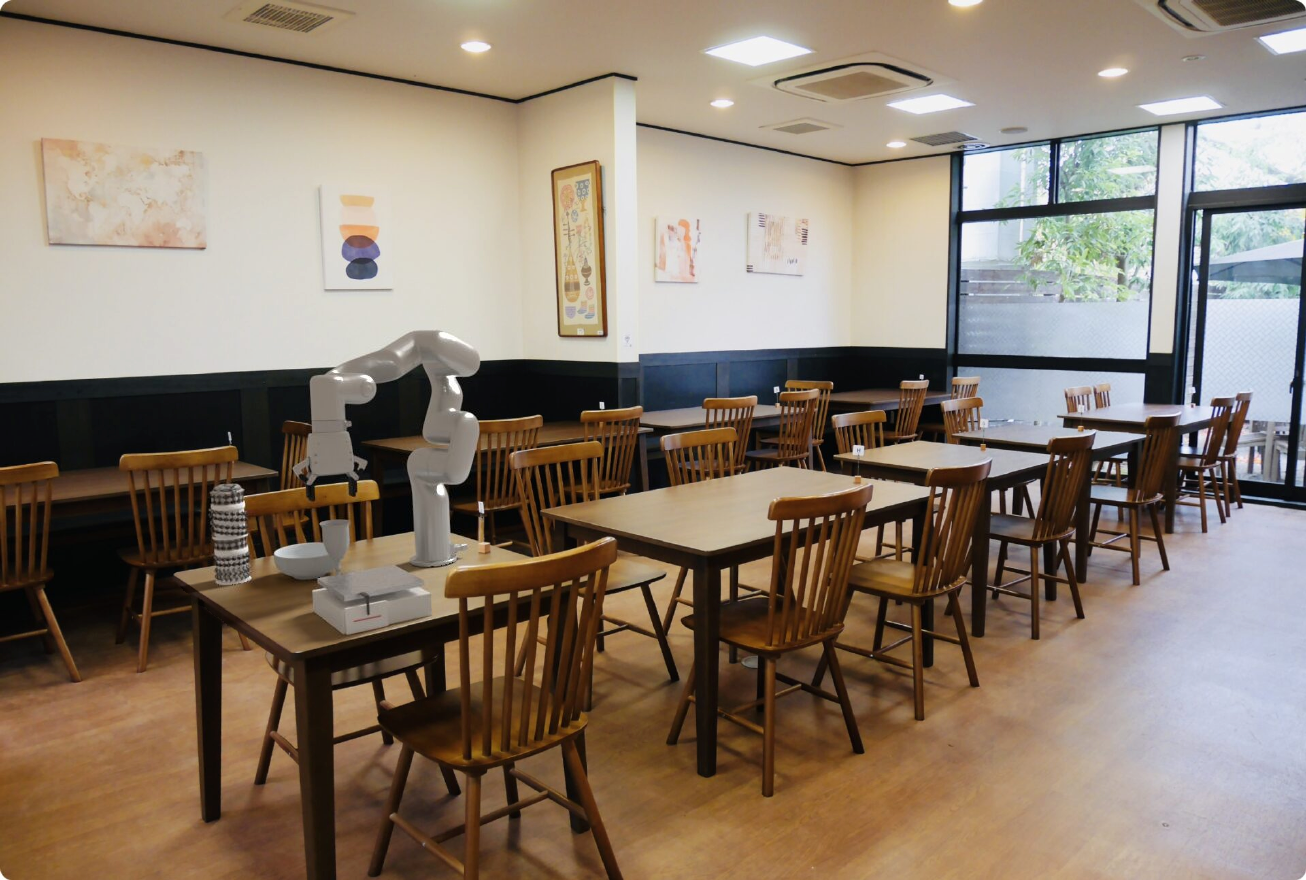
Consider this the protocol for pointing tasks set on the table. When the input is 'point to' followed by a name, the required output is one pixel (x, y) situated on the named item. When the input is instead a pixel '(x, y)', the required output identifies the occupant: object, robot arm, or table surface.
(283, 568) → the cereal bowl
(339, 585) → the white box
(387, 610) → the base
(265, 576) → the table surface
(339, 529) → the chalice
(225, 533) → the decorative candle
